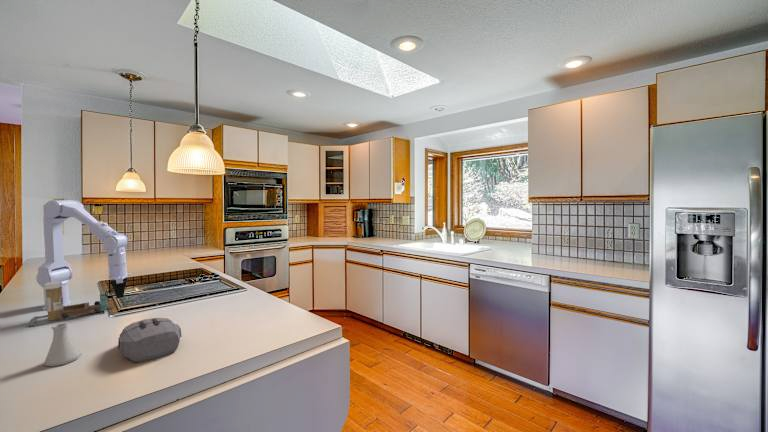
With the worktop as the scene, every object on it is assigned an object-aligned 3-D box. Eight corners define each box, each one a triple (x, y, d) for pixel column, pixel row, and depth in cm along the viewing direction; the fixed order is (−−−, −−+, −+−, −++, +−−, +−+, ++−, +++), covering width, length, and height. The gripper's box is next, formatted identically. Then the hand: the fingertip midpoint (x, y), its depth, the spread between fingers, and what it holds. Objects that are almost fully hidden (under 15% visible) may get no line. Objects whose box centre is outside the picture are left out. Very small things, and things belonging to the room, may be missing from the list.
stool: (62, 311, 130) (61, 298, 130) (105, 304, 139) (104, 292, 138) (60, 319, 122) (59, 305, 122) (106, 310, 130) (105, 297, 130)
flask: (60, 355, 96) (57, 320, 96) (87, 353, 97) (84, 319, 96) (36, 368, 89) (33, 331, 88) (66, 366, 90) (62, 329, 89)
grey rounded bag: (187, 350, 99) (170, 330, 113) (186, 322, 98) (169, 306, 112) (122, 369, 88) (113, 345, 102) (120, 338, 87) (111, 318, 102)
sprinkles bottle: (63, 318, 125) (60, 282, 124) (45, 321, 122) (42, 284, 121) (65, 315, 128) (63, 280, 128) (49, 317, 126) (46, 282, 125)
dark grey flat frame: (33, 318, 125) (33, 316, 125) (103, 306, 138) (103, 304, 138) (29, 327, 117) (29, 325, 117) (104, 313, 130) (104, 311, 130)
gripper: (131, 265, 133) (133, 299, 134) (128, 260, 144) (130, 291, 145) (108, 268, 129) (110, 303, 130) (107, 262, 140) (109, 295, 141)
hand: (119, 297), depth 137 cm, fingers closed
